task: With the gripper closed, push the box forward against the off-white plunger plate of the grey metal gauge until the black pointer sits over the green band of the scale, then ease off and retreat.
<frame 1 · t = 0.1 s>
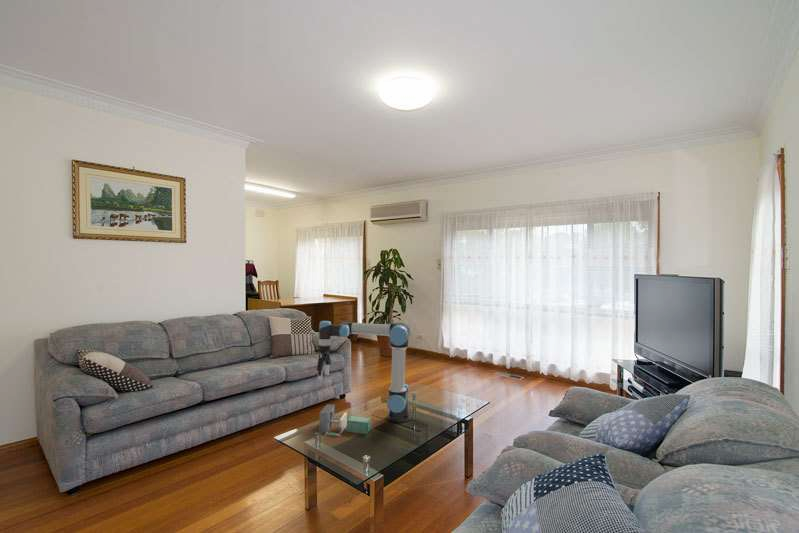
hand: (323, 377, 240), 28 cm above the table, fingers open, 13 cm apart
box: (358, 431, 226), on the table
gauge: (333, 428, 228), on the table
plunger: (333, 422, 226), point 4 cm above the table, slide at 0.0 cm
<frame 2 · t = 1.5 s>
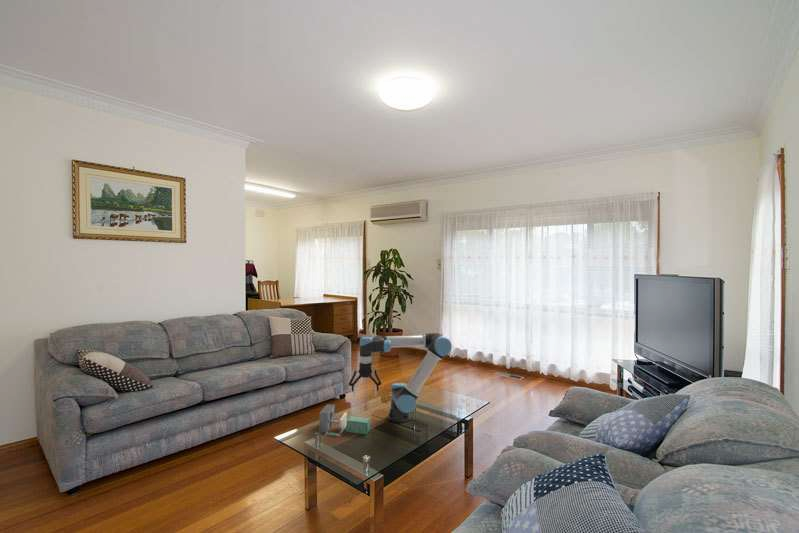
hand: (364, 396, 229), 20 cm above the table, fingers open, 13 cm apart
nothing on the table moved.
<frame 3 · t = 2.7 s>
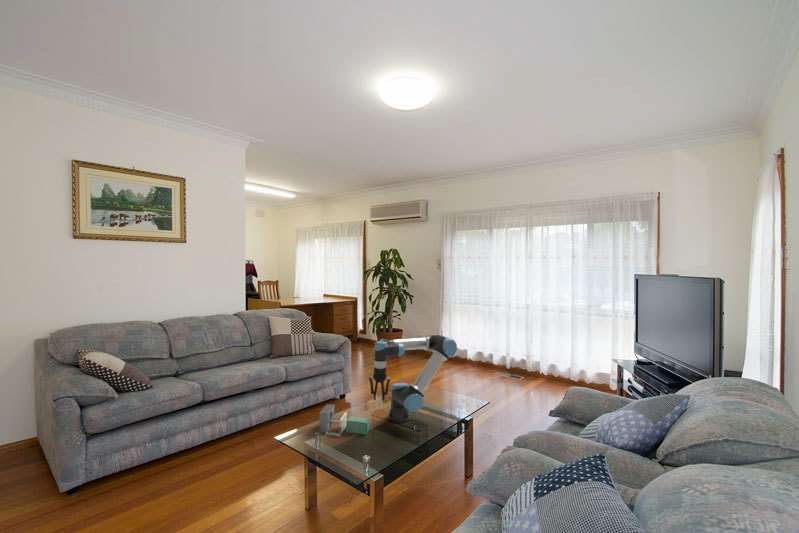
hand: (378, 405, 225), 17 cm above the table, fingers open, 3 cm apart
nothing on the table moved.
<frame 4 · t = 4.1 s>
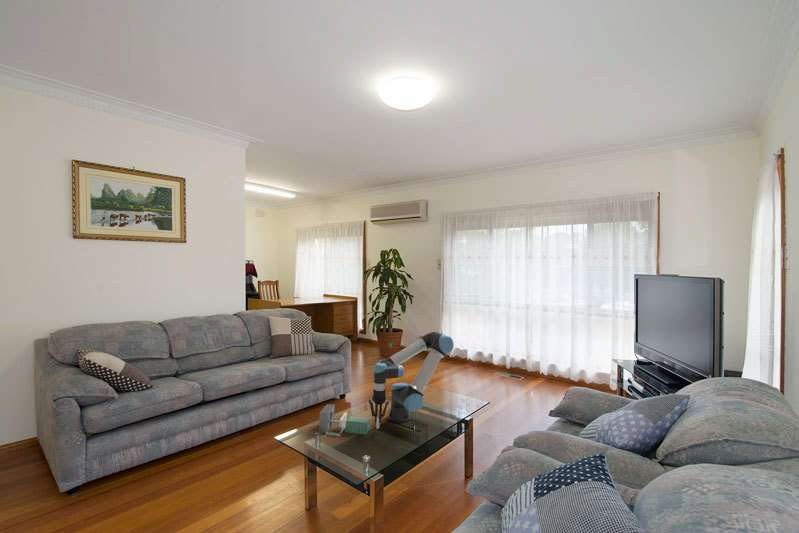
hand: (377, 427, 225), 3 cm above the table, fingers closed
nothing on the table moved.
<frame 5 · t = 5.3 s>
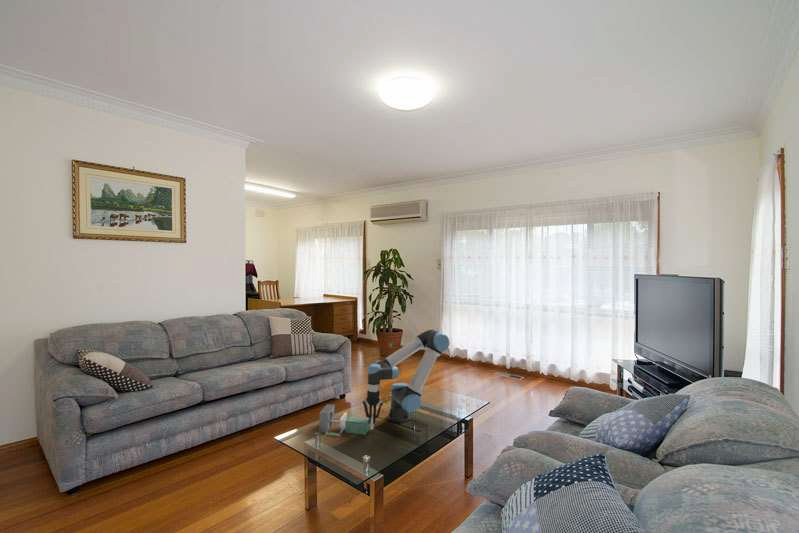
hand: (371, 428, 225), 2 cm above the table, fingers closed
box: (357, 432, 225), on the table, touching gripper
everything else where it was.
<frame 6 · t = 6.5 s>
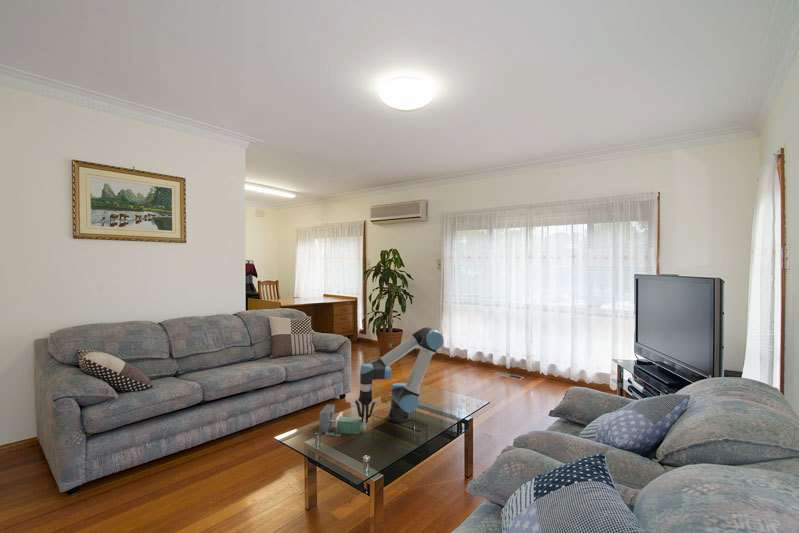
hand: (364, 428, 226), 2 cm above the table, fingers closed
box: (349, 431, 225), on the table
plunger: (328, 422, 227), point 4 cm above the table, slide at 2.7 cm
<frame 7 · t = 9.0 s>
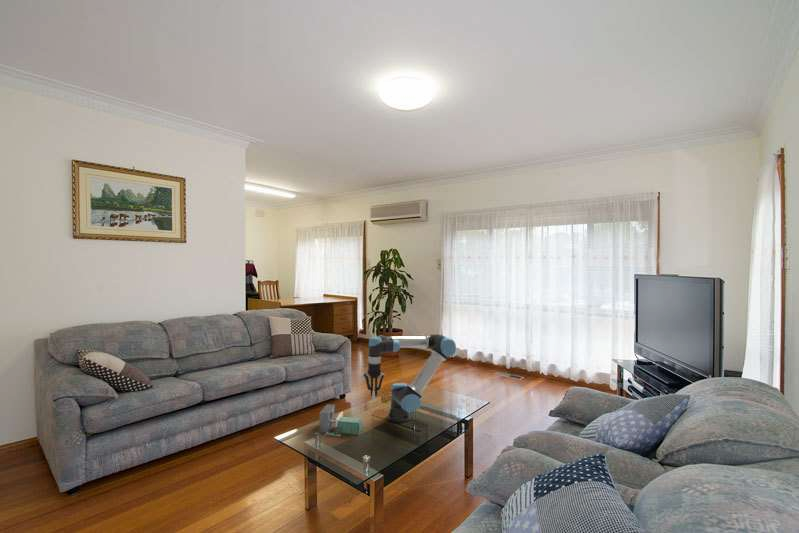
hand: (373, 400, 226), 19 cm above the table, fingers closed
nothing on the table moved.
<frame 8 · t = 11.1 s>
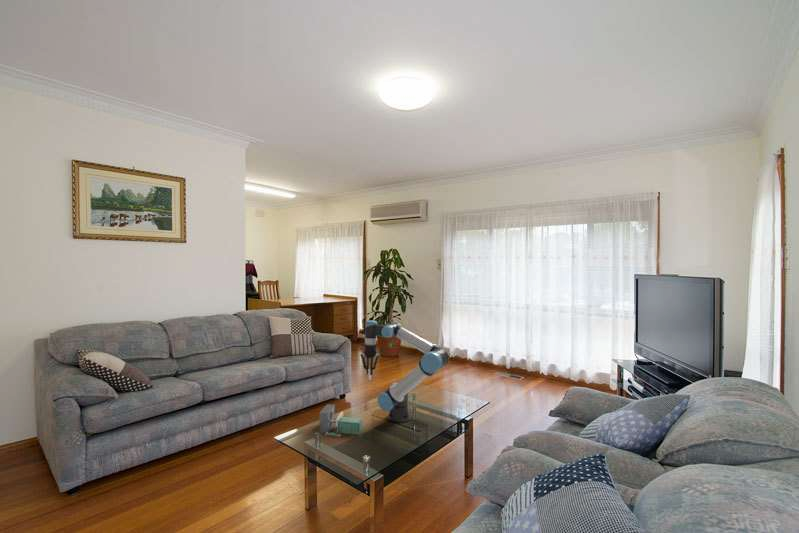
hand: (369, 379, 244), 26 cm above the table, fingers closed
box: (349, 432, 225), on the table, touching plunger
plunger: (329, 422, 227), point 4 cm above the table, slide at 2.5 cm, touching box
at the end: plunger slide at 2.5 cm; box tilted 2°; the gripper is holding nothing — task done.
